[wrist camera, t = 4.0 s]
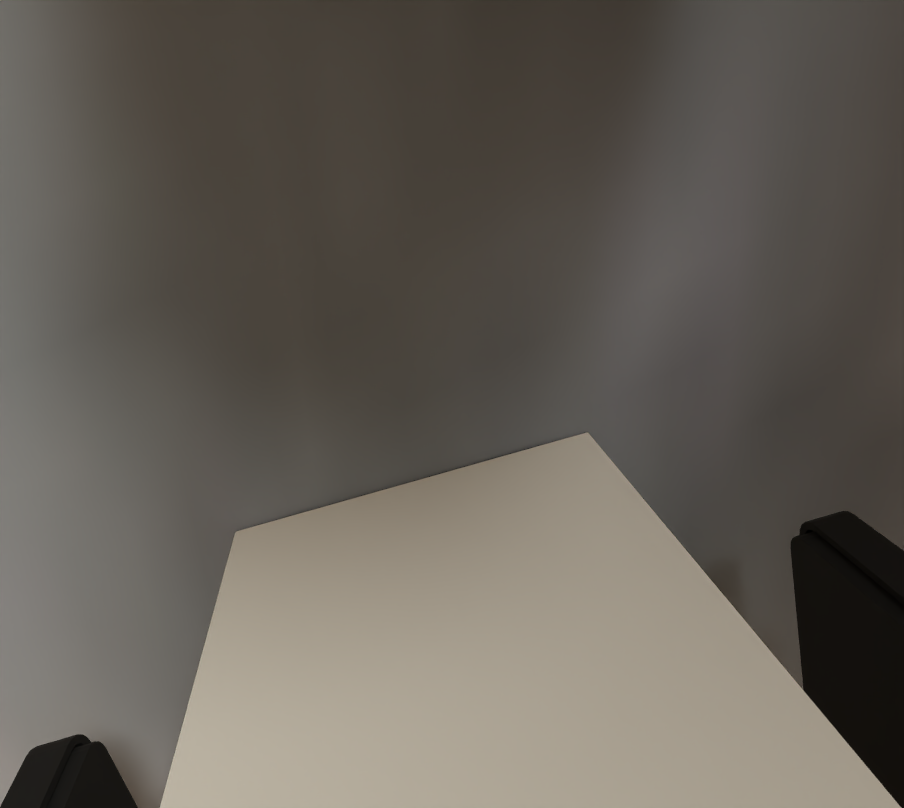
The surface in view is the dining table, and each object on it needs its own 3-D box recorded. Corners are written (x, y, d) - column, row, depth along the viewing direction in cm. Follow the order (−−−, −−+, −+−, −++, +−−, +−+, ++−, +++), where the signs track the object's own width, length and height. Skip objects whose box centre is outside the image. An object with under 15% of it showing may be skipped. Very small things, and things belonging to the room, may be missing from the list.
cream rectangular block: (588, 431, 11) (910, 820, 5) (640, 707, 13) (923, 1247, 6) (235, 531, 11) (86, 1076, 4) (341, 797, 12) (340, 1446, 6)
